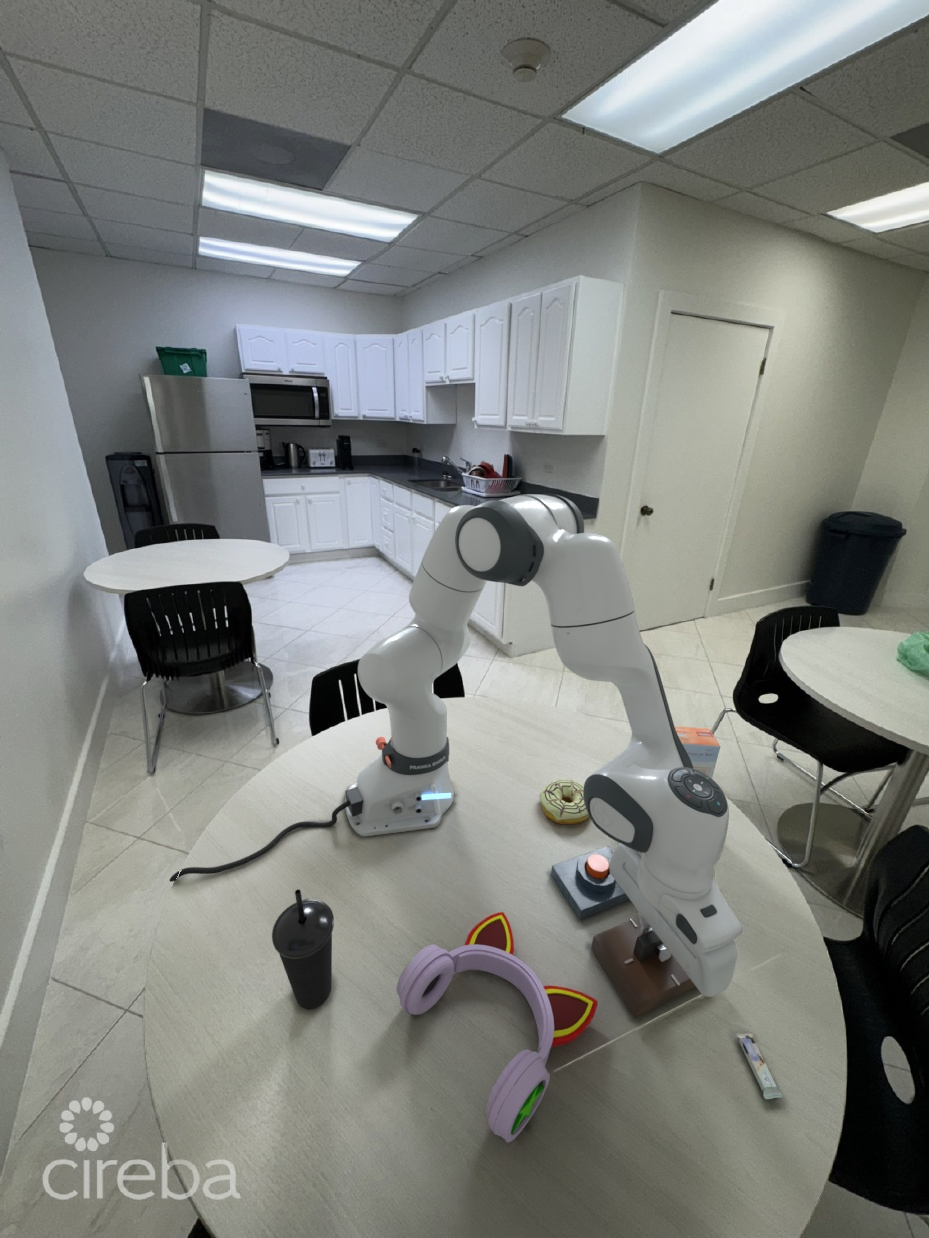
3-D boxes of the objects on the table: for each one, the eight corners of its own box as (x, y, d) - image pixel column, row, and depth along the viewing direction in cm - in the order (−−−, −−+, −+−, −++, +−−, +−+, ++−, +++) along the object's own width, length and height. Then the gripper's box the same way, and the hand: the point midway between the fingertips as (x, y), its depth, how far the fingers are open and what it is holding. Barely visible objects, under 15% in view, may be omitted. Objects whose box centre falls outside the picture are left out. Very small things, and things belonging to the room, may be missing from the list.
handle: (640, 963, 70) (644, 945, 69) (633, 952, 72) (637, 935, 70) (673, 947, 72) (678, 931, 71) (665, 937, 74) (670, 921, 72)
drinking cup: (311, 1034, 64) (294, 933, 56) (273, 999, 68) (251, 900, 60) (353, 981, 70) (342, 883, 62) (315, 952, 74) (300, 855, 66)
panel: (634, 1019, 67) (638, 1005, 65) (590, 947, 75) (593, 934, 74) (712, 979, 71) (717, 965, 70) (662, 917, 80) (666, 903, 79)
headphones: (389, 977, 63) (495, 873, 75) (399, 1015, 68) (498, 912, 80) (501, 1129, 50) (609, 974, 62) (504, 1163, 55) (604, 1013, 66)
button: (594, 881, 82) (595, 874, 81) (581, 864, 85) (583, 857, 84) (612, 875, 83) (613, 867, 82) (599, 858, 86) (600, 851, 85)
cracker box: (688, 810, 101) (710, 727, 93) (698, 834, 96) (723, 747, 88) (619, 804, 103) (635, 721, 94) (625, 827, 97) (642, 740, 89)
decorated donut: (530, 798, 104) (531, 784, 102) (572, 784, 108) (574, 771, 106) (557, 834, 95) (559, 820, 94) (602, 818, 99) (605, 804, 98)
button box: (579, 919, 79) (582, 902, 78) (550, 874, 87) (552, 857, 85) (639, 895, 83) (643, 879, 82) (606, 854, 91) (609, 838, 90)
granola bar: (782, 1100, 59) (784, 1096, 58) (763, 1101, 59) (766, 1096, 58) (750, 1034, 65) (752, 1030, 65) (733, 1035, 65) (735, 1030, 65)
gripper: (606, 828, 74) (594, 891, 79) (715, 959, 57) (690, 1029, 62) (639, 816, 76) (626, 879, 82) (754, 939, 59) (727, 1009, 64)
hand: (654, 945), depth 72 cm, fingers closed on handle, 2 cm apart
